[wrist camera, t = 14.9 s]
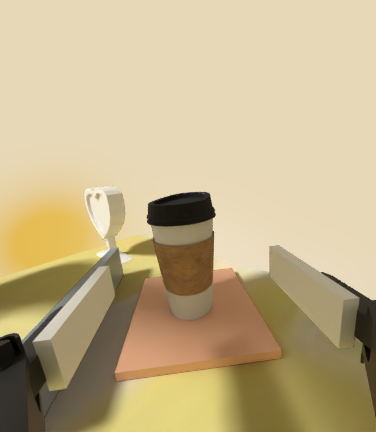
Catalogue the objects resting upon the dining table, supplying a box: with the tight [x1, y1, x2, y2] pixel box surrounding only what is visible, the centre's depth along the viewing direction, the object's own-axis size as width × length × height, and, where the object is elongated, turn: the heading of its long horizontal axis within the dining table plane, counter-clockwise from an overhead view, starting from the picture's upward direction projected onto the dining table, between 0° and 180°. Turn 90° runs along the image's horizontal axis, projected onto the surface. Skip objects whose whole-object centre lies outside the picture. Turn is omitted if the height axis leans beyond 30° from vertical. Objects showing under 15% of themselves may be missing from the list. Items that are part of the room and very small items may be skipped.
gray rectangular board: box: [22, 248, 124, 416], centre depth 24 cm, size 2×24×6 cm, turn 3°
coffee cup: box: [147, 192, 216, 320], centre depth 23 cm, size 8×8×15 cm
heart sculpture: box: [84, 186, 133, 264], centre depth 45 cm, size 16×5×18 cm, turn 46°
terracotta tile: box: [114, 268, 282, 381], centre depth 25 cm, size 16×16×1 cm
